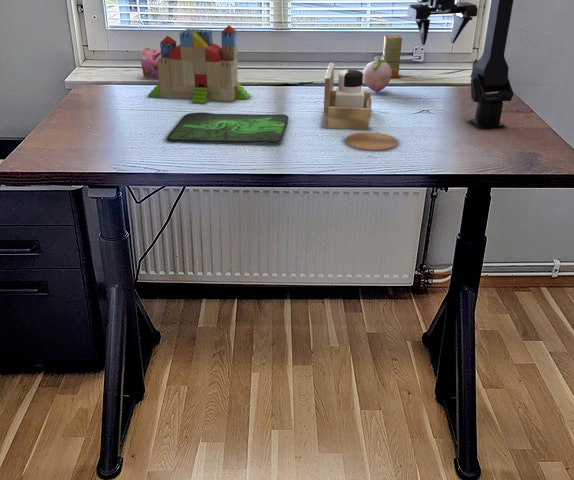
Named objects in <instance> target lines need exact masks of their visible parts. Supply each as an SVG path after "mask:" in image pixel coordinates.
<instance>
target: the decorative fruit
mask: <svg viewBox="0 0 574 480" xmlns="http://www.w3.org/2000/svg"><path fill="white" fill-rule="evenodd" d="M362 73H363V83H364V84H365V86H366V87H367V88H369V89H370V90H372V91H374V92H375V93H379V92H382V90H384V89H385V88H386V87H387V86H388V85H389V83H390V81H391V79H392V78H391V76H392V70H391V67H390V66H389V64H388V63H386V60H383V58H381V57H380V56H378V59H377V60H373V61H370V62H369V63H367V64H366V65H365V66H364V68H363V71H362Z"/></svg>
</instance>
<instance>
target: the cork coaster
mask: <svg viewBox="0 0 574 480" xmlns="http://www.w3.org/2000/svg"><path fill="white" fill-rule="evenodd" d="M345 143H346V144H347V145H348V146H349V147H351V148H354V149H357V150H361V151H362V150H363V151H373V152H374V151H375V152H376V151H379V152H380V151H386V150H392V149H393V148H394V149H395V147H397V145H398V140H397V139H396V137H394V136H391V135H390V134H389V135H388V134H385V133H380V132H357V133H356V132H355V133H353V134H350V135H348V136H347V137H346V138H345Z"/></svg>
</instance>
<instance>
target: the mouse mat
mask: <svg viewBox="0 0 574 480" xmlns="http://www.w3.org/2000/svg"><path fill="white" fill-rule="evenodd" d="M288 120H289V116H288V115H287V114H283V113H282V114H281V113H280V114H279V113H277V114H276V113H275V114H269V113H268V114H264V113H263V114H258V113H257V114H253V113H252V114H251V113H212V112H211V113H210V112H190V113H187V114H185V115H184V116H183V117H182V118H181V119H180V120H179V122H178V123H177V124H176V125H175V127H173V129H172V130H171V132H170V133H169V134H168V135H167V137H166V140H167V141H169V142H191V143H223V144H226V143H229V144H231V143H234V144H236V143H238V144H255V143H256V144H258V143H259V144H261V143H263V144H265V143H266V144H279V143H280V142H282V140H283V137H284V134H285V130H286V126H287V125H288Z"/></svg>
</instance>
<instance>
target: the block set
mask: <svg viewBox="0 0 574 480" xmlns="http://www.w3.org/2000/svg"><path fill="white" fill-rule="evenodd" d="M220 34H221V35H220V36H221V45H219V44H217V43H213V29H203V28H202V29H199V28H196V29H195V28H186V29H184V30H181V31H180V32H179V44H178V45H177V41H176V40H175V39H173V38H172V37H170V36H169V35H166V36H165V37H164V38H163V39H162V40H161V41H160V43H159V47H160V48H159V49H161V56H162V57H160V58H158V59H157V62H158V74H159V78H158V83H157V84H156V86H154V87H153V89H152V90H150V92H149V93H148V97H150V98H167V99H181V100H191V101H192V103H193V104H206V103H207V102H208V101H211V102H212V101H214V102H224V103H225V102H228V103H233V102H234V101H235V100H248V99H250V97H251V93H248V90H247V89H245V87H244V86H242V84H241V83H239V71H238V70H239V67H238V65H239V64H238V32H237V30H236V29H235V28H233V27H232V26H231V25H227V26H226V27H225V28H224V29H223V30H222V31H221V33H220Z"/></svg>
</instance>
